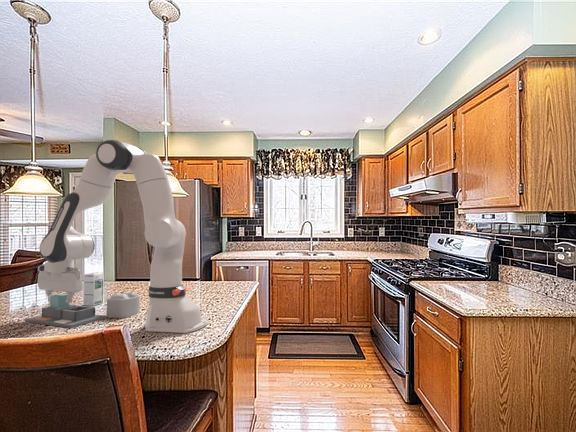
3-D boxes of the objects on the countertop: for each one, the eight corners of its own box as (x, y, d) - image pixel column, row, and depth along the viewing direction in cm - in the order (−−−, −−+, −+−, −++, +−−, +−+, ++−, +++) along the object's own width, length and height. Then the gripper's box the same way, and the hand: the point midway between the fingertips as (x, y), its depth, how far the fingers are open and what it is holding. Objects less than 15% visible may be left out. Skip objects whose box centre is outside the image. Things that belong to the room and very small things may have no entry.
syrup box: (93, 306, 155) (94, 274, 155) (82, 305, 156) (83, 273, 157) (103, 303, 160) (103, 272, 161) (92, 302, 162) (93, 272, 162)
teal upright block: (68, 314, 135) (69, 294, 135) (57, 317, 131) (58, 296, 131) (60, 313, 136) (61, 293, 137) (49, 316, 132) (50, 295, 133)
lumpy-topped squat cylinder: (102, 316, 136) (103, 295, 136) (125, 309, 149) (125, 289, 149) (125, 318, 134) (125, 296, 134) (146, 310, 146) (146, 290, 147)
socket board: (105, 318, 134) (105, 306, 134) (71, 328, 120) (72, 315, 121) (61, 313, 142) (61, 302, 142) (25, 321, 128) (25, 309, 129)
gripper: (87, 267, 134) (86, 302, 133) (50, 265, 141) (49, 299, 140) (72, 268, 128) (71, 306, 127) (34, 266, 135) (33, 302, 134)
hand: (59, 302), depth 134 cm, fingers open, 8 cm apart
